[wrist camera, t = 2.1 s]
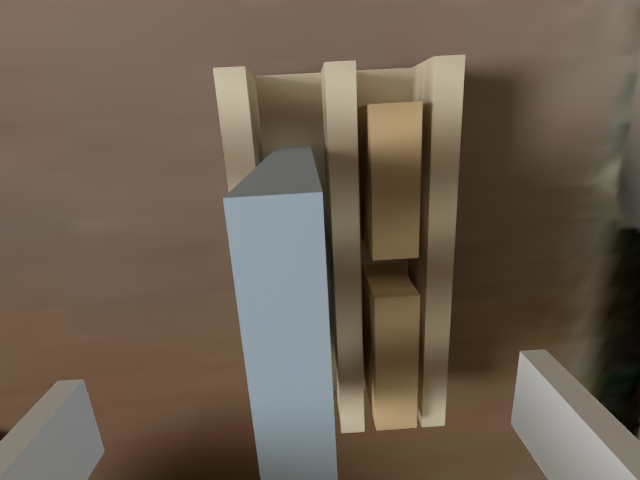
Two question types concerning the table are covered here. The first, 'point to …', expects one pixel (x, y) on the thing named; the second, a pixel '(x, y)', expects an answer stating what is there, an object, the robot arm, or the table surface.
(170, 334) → the table surface
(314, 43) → the table surface
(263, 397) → the pale blue panel
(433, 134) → the rack
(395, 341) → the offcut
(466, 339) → the table surface
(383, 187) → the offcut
